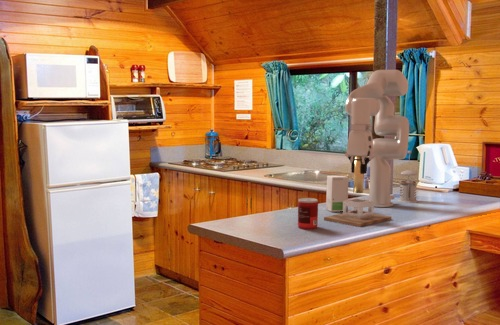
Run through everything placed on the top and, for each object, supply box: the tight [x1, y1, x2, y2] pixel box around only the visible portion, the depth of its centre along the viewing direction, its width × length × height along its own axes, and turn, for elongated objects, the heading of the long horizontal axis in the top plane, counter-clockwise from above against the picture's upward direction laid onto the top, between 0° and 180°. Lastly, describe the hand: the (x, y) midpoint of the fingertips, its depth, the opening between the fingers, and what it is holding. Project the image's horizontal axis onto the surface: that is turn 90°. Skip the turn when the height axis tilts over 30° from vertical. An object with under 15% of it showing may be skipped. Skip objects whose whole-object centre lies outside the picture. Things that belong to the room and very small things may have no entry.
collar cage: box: [342, 197, 375, 220], centre depth 249 cm, size 9×9×7 cm
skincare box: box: [325, 175, 350, 213], centre depth 269 cm, size 8×7×16 cm
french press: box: [397, 150, 419, 204], centre depth 295 cm, size 10×12×25 cm
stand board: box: [323, 212, 392, 228], centre depth 250 cm, size 22×18×1 cm
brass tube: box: [352, 156, 365, 194], centre depth 247 cm, size 4×4×15 cm
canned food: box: [297, 197, 319, 230], centre depth 233 cm, size 8×8×11 cm
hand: (358, 172), depth 247 cm, fingers closed on brass tube, 4 cm apart
